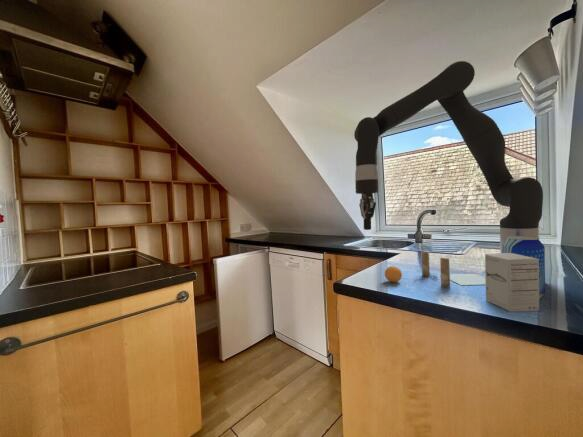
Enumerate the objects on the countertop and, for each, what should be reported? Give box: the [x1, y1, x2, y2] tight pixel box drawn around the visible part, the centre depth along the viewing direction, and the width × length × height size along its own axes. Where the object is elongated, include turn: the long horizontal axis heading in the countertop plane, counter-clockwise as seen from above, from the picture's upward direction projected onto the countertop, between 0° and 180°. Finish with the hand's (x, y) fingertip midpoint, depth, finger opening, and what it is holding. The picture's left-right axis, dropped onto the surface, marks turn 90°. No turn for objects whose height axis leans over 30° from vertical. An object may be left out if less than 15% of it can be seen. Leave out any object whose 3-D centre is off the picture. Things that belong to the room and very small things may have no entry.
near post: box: [439, 257, 451, 289], centre depth 76 cm, size 2×2×9 cm
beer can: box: [502, 236, 546, 299], centre depth 67 cm, size 8×8×16 cm
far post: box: [420, 250, 431, 278], centre depth 89 cm, size 2×2×9 cm
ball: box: [384, 265, 403, 283], centre depth 83 cm, size 6×6×6 cm
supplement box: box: [484, 253, 540, 313], centre depth 60 cm, size 7×7×13 cm
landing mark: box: [439, 273, 486, 287], centre depth 82 cm, size 12×12×1 cm
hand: (367, 229), depth 83 cm, fingers closed
